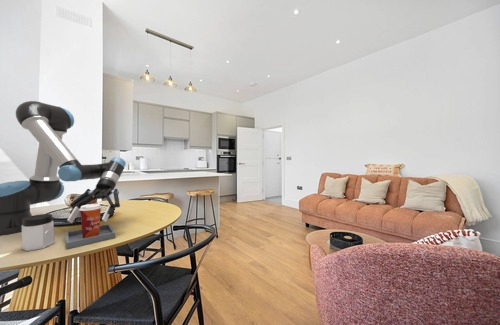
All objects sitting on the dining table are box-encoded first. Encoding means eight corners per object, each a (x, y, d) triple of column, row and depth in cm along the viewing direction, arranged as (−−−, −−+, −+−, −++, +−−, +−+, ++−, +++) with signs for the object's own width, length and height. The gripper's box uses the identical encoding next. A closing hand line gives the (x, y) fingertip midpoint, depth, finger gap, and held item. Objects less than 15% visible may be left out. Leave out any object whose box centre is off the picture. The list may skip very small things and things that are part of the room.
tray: (66, 249, 75) (66, 243, 75) (65, 237, 86) (65, 232, 86) (115, 237, 87) (115, 232, 87) (109, 228, 97) (109, 223, 97)
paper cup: (89, 240, 82) (88, 208, 82) (74, 239, 83) (74, 207, 83) (106, 233, 90) (106, 203, 89) (92, 232, 91) (92, 202, 91)
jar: (37, 251, 74) (37, 220, 73) (15, 251, 73) (14, 220, 73) (59, 241, 83) (59, 213, 82) (39, 241, 82) (38, 213, 82)
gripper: (136, 186, 103) (121, 224, 88) (84, 186, 100) (60, 225, 85) (131, 177, 97) (114, 216, 83) (76, 177, 94) (49, 217, 80)
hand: (87, 221), depth 84 cm, fingers open, 13 cm apart
